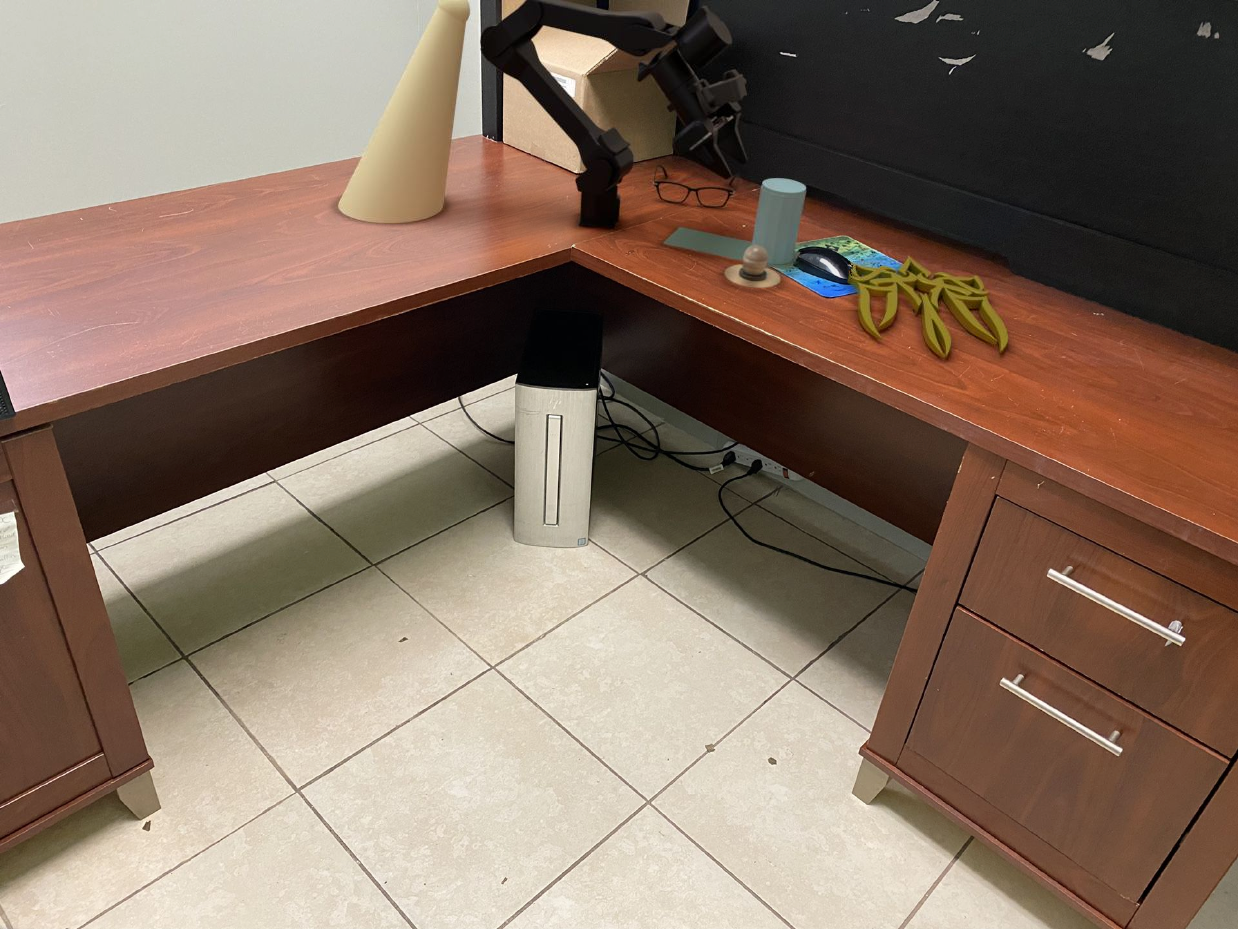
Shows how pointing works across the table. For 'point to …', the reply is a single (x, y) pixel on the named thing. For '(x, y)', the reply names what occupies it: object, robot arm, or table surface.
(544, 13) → the robot arm
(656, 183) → the eyeglasses
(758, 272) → the knob on round base
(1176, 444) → the table surface
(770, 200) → the tumbler
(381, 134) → the cone light
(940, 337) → the gold ornamental emblem
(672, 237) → the mat
